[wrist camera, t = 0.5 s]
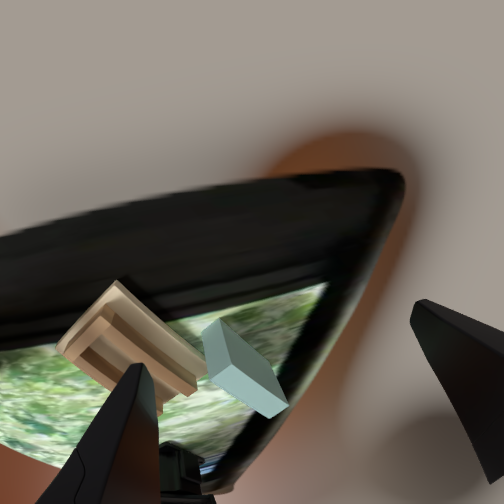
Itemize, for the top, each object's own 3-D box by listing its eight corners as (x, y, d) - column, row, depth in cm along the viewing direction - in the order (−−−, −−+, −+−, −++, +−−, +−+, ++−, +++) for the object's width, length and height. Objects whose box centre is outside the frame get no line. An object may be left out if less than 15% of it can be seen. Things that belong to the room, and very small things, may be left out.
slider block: (252, 373, 27) (269, 418, 21) (201, 331, 24) (209, 380, 18) (268, 360, 27) (289, 405, 21) (218, 317, 24) (231, 363, 18)
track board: (147, 407, 25) (147, 428, 23) (58, 341, 21) (48, 361, 18) (212, 361, 25) (216, 382, 22) (116, 279, 21) (109, 296, 18)
